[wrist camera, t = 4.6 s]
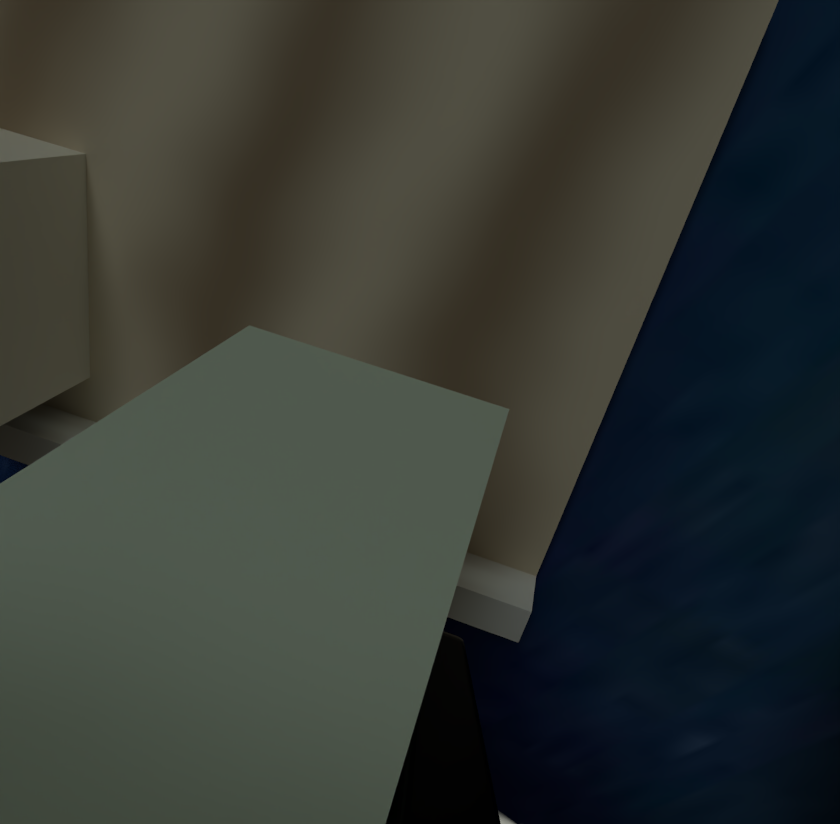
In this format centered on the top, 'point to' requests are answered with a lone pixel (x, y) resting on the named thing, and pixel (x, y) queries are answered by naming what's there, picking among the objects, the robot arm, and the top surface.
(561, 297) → the beige shallow tray
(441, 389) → the sage carton
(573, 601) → the top surface
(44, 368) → the cream carton
